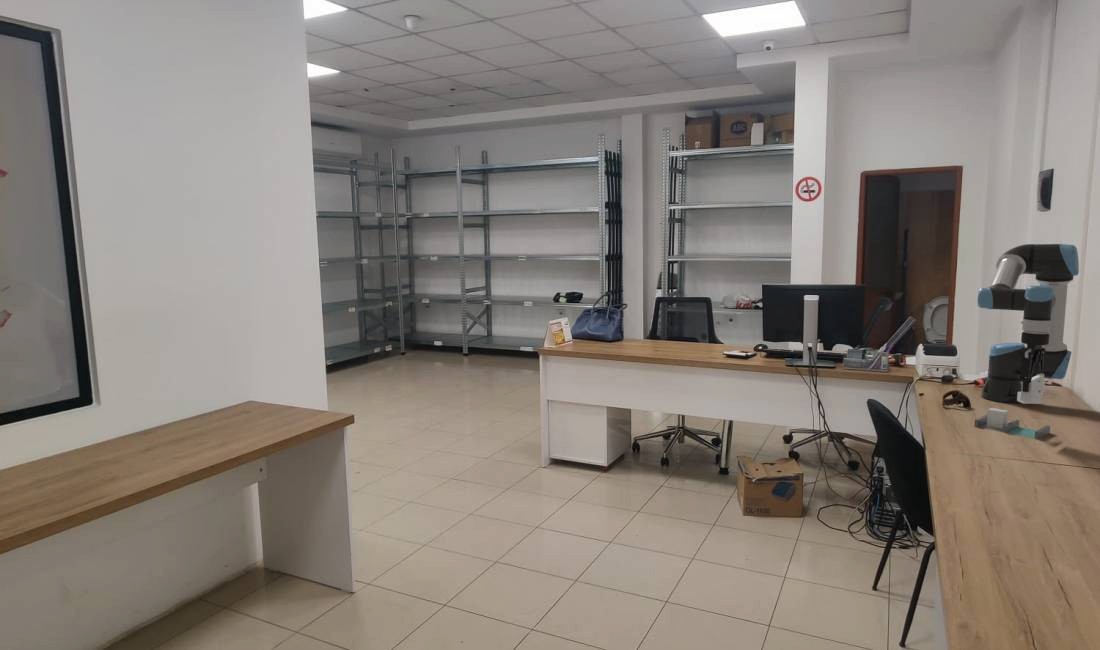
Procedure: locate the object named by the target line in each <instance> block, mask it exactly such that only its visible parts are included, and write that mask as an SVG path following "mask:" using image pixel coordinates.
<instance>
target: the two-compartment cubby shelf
mask: <svg viewBox="0 0 1100 650" xmlns="http://www.w3.org/2000/svg"><path fill="white" fill-rule="evenodd" d="M987 415H988V413H986V414H984V415H982V416H980V417H978V418H976V419H974V427H975V428H980V429H986V430H991V431H996V432H1001V433H1005V434H1009V435H1013V436H1014V435H1015V436H1020V437H1024V438H1025V437H1026V438H1030V439H1035V440H1039V439H1042V438H1043V437H1045V436H1047V435H1049V434H1051V425H1047V424H1046V425H1045V426H1043V427H1041V428H1039V429H1031V428H1026V427H1022V426H1020V422H1021V421H1020V420H1019V419H1015V420H1013V421H1011V422H1009V423H1008V422H1007V424H1006V425H1004V429H1000V428H995V427H990V426H987Z"/></svg>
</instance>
